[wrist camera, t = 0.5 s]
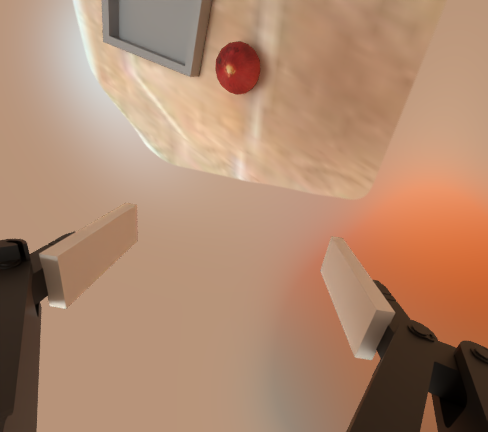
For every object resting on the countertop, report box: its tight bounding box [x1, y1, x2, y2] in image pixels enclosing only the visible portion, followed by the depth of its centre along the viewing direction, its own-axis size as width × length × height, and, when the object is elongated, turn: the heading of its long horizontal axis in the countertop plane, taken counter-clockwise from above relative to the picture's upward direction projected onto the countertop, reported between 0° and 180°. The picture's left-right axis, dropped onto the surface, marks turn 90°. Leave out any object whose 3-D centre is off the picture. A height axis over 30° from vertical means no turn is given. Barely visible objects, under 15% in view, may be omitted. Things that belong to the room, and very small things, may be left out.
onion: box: [216, 41, 260, 94], centre depth 31 cm, size 6×6×8 cm
